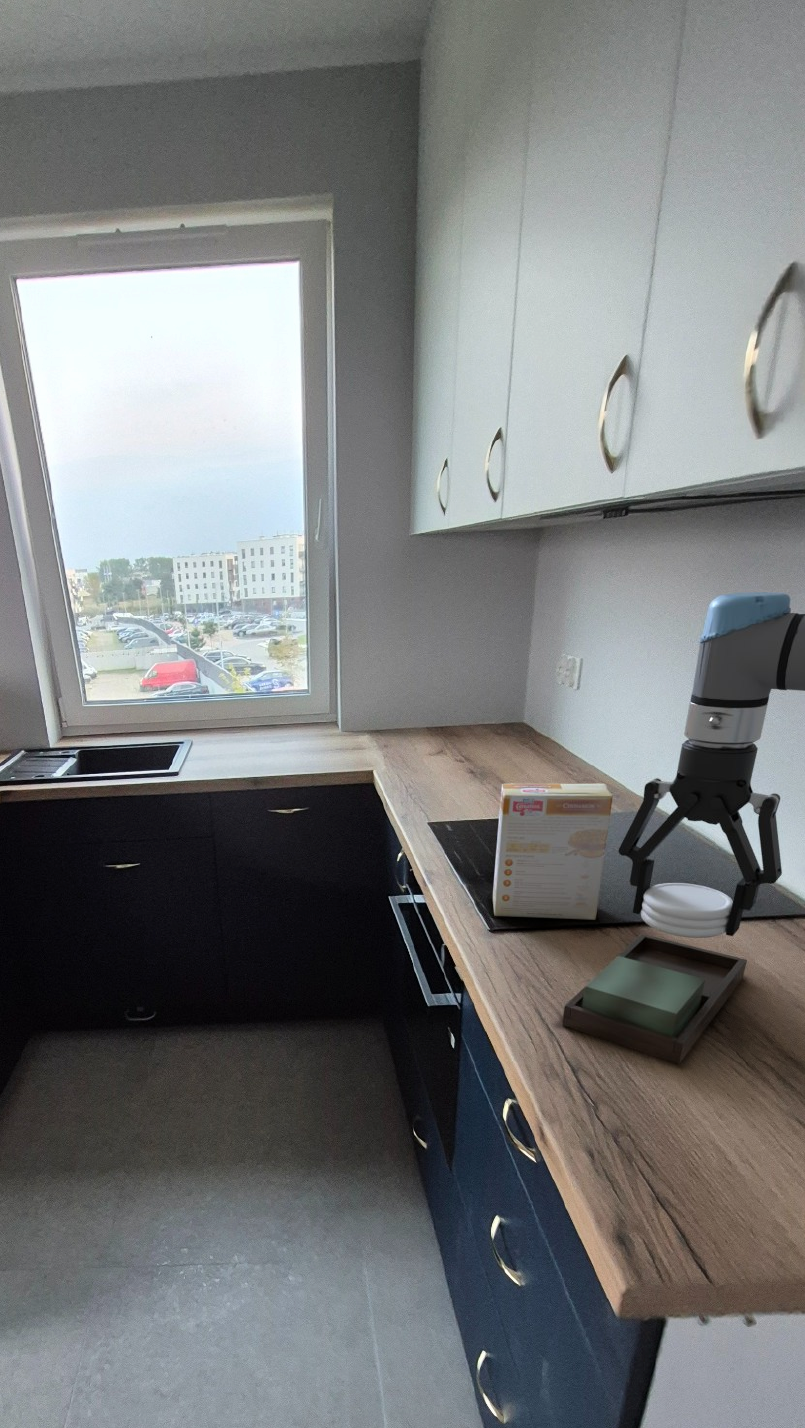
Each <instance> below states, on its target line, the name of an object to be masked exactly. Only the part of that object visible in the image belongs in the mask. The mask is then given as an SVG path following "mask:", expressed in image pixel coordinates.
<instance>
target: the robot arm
mask: <svg viewBox="0 0 805 1428" xmlns="http://www.w3.org/2000/svg"><path fill="white" fill-rule="evenodd" d="M790 606H791V597H790V595H788V594H787V593H784V592H736V593H725V594H722V595H719V596H716V597H715V598H714V599H713V600H712V601H711V602H710V604H709V605H708V608H707V614H706V617H705V622H704V624H703V626H704V627H703V630H702V634H701V637H700V638H699V641H698V644H699V648H698V654H697V660H696V667H695V672H694V677H693V684H692V691H691V694H690V695H691V696H690V700H689V703H688V710H687V716H686V721H685V727H684V732H683V733H684V734H683V735H684V737H685V738H687V740H685V741H684V742H683V743H682V744H681V747H680V748H681V749H680V753H679V758H678V765H677V770H676V775H675V778H674V780H673V781H664V780H663V781H662V779H661V778H658V777H656V778H653V779H652V780H650V781H649V782H647V783H645V785H644V789H643V797H642V798H643V799H642V802H641V804H640V806H639V808H638V810H637V812H636V814H635V815H634V818H633V820H632V822H631V824H630V826H629V827H628V830H627V831H626V834H625V836H624V837H623V840H622V842H621V844H620V846H619V848H618V854H619V855H620V856H623V857H627V858H628V859H630V860H631V862H632V865H631V871H630V872H631V873H630V878H629V884H630V886H633V887H636V891H635V896H634V902H633V908H632V914H636V915H641V910H642V902H643V900H644V897H643V896H644V893H645V891H646V890H647V889H649V888H650V887H651V885H652V884H651V882H652V877H653V871H654V867H655V861H656V860H655V859H649V857H650V856H651V854H652V853H653V852H655V851H656V849H657V848H658V847H659V846H660V845H661V844H662V842H663V841H664V840H666V838H667V837H668V836H669V835H670V834H671V833H672V832H673V831H674V829H676V827H677V826H679V824H680V823H681V822H682V821H683V820H685V819H687V821H690V822H704V823H706V824H709V825H715V826H716V825H718V824H719V826H720V828H721V831H722V832H723V833H724V834H725V836H726V839H727V841H728V844H729V846H730V849H731V851H732V853H733V856H734V858H735V860H736V863H737V865H738V867H739V870H740V872H741V875H742V878H741V879H740V880H738V882H737V883H736V886H735V891H734V895H733V899H732V900H733V904H732V908H731V913H730V917H729V922H728V926H727V930H726V932H725V936H729V937H734V936H735V934H736V933H737V932H738V931H739V930H740V927H741V923H742V919H743V918H742V917H743V912H744V911H745V910H746V911H750V910H751V909H752V908H753V907H754V905H756V902H757V898H758V894H759V889H760V886H761V885H763V884H768V885H772V884H775V883H776V882H777V881H778V879H780V877H781V876H782V874H783V869H782V861H781V860H782V859H781V850H780V841H779V840H780V839H779V832H778V831H779V830H778V822H777V811H778V808H779V805H780V802H781V796H780V794H778V793H775V792H774V793H771V794H769V795H768V794H763V793H758V792H754V791H753V789H752V785H751V782H752V776H753V772H754V767H755V763H756V758H757V754H758V751H759V750H758V749H759V748H758V747H757V745H756V744H755V743H756V742H757V741H759V740H761V737H762V732H763V728H764V722H765V719H766V713H767V709H768V704H769V700H770V694H771V692H772V690H779V691H799V692H800V691H801V692H805V613H798V612H791V611H792V608H791V607H790ZM668 793H670V795H671V797H672V799H673V801H674V802H675V804H676V806H677V807H676V808H675V809H674V810H673V811H672V812H671V813H670V814H669V816H668V817H667V818H666V820H665V821H664V822H663V823H662V824H661V825H660V826H659V827H658V828H657V829H656V830H655V832H653V834H651V836H650V837H649V838H648V839H647V840H646V841H645V842H644V843H643V845H642V846H641V847H639V846H637V845H638V843H639V841H640V839H641V837H642V835H643V833H644V832H645V830H646V828H647V825H649V822H650V820H651V818H652V816H653V814H654V812H655V810H656V808H657V807H658V805H659V802H660V801H661V800H662V799H664V798H665V797H666V796H667V794H668ZM747 804H751V805H752V807H753V808H752V809H753V812H754V814H755V815H758V817H757V827H758V834H759V843H760V853H761V862H762V868H761V866H760V864H759V862H758V859H757V856H756V854H755V852H754V849H753V847H752V845H751V842H750V839H749V837H748V835H747V833H746V830H745V828H744V825H743V819H742V816H741V814H740V812H739V811H740V810H742V808H744V807H745V806H746V805H747Z"/></svg>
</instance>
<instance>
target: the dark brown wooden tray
mask: <svg viewBox="0 0 805 1428" xmlns="http://www.w3.org/2000/svg"><path fill="white" fill-rule="evenodd" d="M747 963H748V959H746V958H742V957H737V956H734V955H729V954H725V953H721V952H718V951H713V950H709V949H705V948H702V947H697V946H692V945H689V944H686V943H685V944H684V943H681V942H677V941H672V940H669V939H665V938H661V937H657V936H653V935H650V934H649V935H648V934H645V933H640V934H639V935H638V936H637V937H636V938H635V939H634V940H633V941H631V943H630V944H629V945H627V947H625V948H624V949H623V951H621V952H620V953H619V954H618V955H617V956H616V957H615V958H613V960H612V961H610V962H609V963H608V964H607V965H606V966H605V967H603V969H602V970H601V971H600V972H599V973H598V974H596V976H595V977H593V978H592V979H591V980H590V981H589V982H588V983H587V984H586V985H585V986H584V987H583V988H582V989H581V990H580V991H579V992H577V994H575V996H574V997H572V998H571V999H569V1001H568V1002H566V1004H565V1005H564V1008H563V1016H562V1022H561V1025H562V1026H563V1027H567V1028H570V1029H572V1030H576V1031H577V1032H581V1033H585V1034H587V1035H590V1036H593V1037H596V1038H599V1039H602V1040H604V1041H608V1042H610V1043H614V1044H617V1045H619V1046H622V1047H625V1048H628V1049H632V1050H634V1051H637V1052H640V1053H644V1054H647V1055H649V1056H653V1057H655V1058H659V1059H661V1060H664V1061H667V1062H670V1063H673V1064H676V1065H680V1063H681V1062H682V1061H683V1060H684V1059H685V1057H686V1056H687V1054H688V1052H690V1050H691V1049H692V1048H693V1046H694V1045H695V1043H696V1042H697V1041H698V1039H699V1038H700V1037H701V1035H703V1033H704V1031H705V1030H706V1028H707V1027H708V1026H709V1025H710V1023H711V1022H712V1021H713V1019H714V1018H715V1017H716V1015H717V1014H718V1013H719V1011H720V1009H721V1008H722V1007H723V1006H724V1004H725V1003H726V1001H727V1000H728V999H729V998H730V996H731V995H732V993H733V992H734V991H735V990H736V989H737V987H738V985H739V984H740V983H741V982H742V980H743V979H744V975H745V970H746V967H747Z"/></svg>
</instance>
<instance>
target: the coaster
mask: <svg viewBox="0 0 805 1428" xmlns="http://www.w3.org/2000/svg"><path fill="white" fill-rule="evenodd" d="M643 897H644V900H643V902H642V910H641V913H640V917H641V919H642V920H643V922H644V923H645V924H646V925H648V926H649V927H650V928H652V929H655V930H657V931H659V932H661V933H664V934H669V935H672V936H676V937H683V938H692V939H706V938H714V937H718V936H721V935H723V934H726V930H727V926H728V922H729V917H730V913H731V908H732V904H733V899H732V898H731V897H730V896H729V895H727V894H725V893H724V892H722V891H720V890H717V889H715V888H712V887H709V886H704V885H700V884H694V883H687V882H686V883H685V882H666V883H659V884H655V885H653V886H650V888H649V889H647V890H646V891H645V893H644V896H643Z"/></svg>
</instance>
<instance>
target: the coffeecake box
mask: <svg viewBox="0 0 805 1428" xmlns="http://www.w3.org/2000/svg"><path fill="white" fill-rule="evenodd" d="M613 799H614V796H613V794H612V793H611V791H610V790H609V789H608V786H607V785H606V783H502V784H501V790H500V801H499V811H498V827H497V840H496V848H495V849H496V850H495V863H494V876H493V888H492V904H493V914H494V917H517V918H538V919H539V918H540V919H543V918H544V919H563V920H590V921H595V920H596V918H597V912H598V906H599V900H600V892H601V884H602V877H603V869H604V862H605V855H606V849H607V841H608V833H609V825H610V819H611V811H612V806H613Z"/></svg>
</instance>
